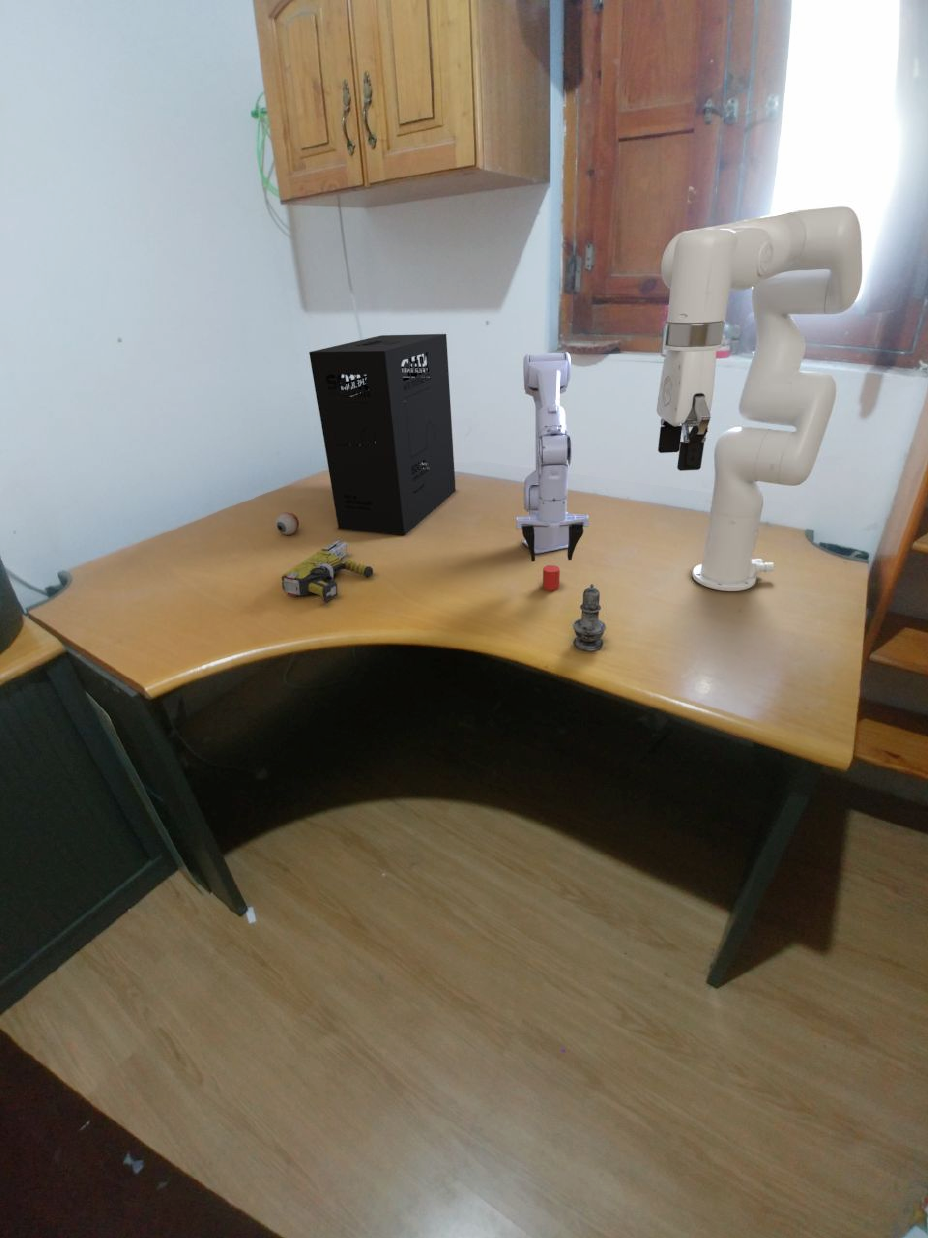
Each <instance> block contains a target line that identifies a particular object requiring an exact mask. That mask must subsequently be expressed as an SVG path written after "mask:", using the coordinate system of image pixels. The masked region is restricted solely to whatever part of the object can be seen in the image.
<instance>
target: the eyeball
mask: <svg viewBox="0 0 928 1238" xmlns="http://www.w3.org/2000/svg"><path fill="white" fill-rule="evenodd" d="M299 525H300V522H299V519H298V517H297V516H296V515H295V514H294V513H292V512H287V511H286V512H282V513H280V514H279V515H278V516H277V517H276V520H275V527H276V529H277V530H278V531H279V532H280V533H281V534H282V535H285V536H286V535H287V536H289V535H293V534H295V533H296V532H297V531H298V529H299Z"/></svg>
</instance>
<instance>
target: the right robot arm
mask: <svg viewBox="0 0 928 1238" xmlns="http://www.w3.org/2000/svg"><path fill="white" fill-rule="evenodd" d="M862 243H863V241H862V230H861V225H860V221H859V217H858V216H857V214H856V212H855V210H854V209H852V207H849V206H845V205H843V206H831V207H823V208H822V207H820V208H819V207H818V208H810V209H809V208H808V209H800V210H799V209H797V210H788V211H783V212H779V213H774V214H769V215H762V216H758V217H753V218H748V219H747V218H746V219H742V220H737V221H734V222H729V223H725V224H720V225H714V226H708V227H703V228H696V229H692V230H686V231H681V232H679V233H677V234H676V235H675V236H674V237H673V238H672V239H670V241H669V243H668V244H667V245H666V248H665V250H664V252H663V254H662V259H661V265H660V272H661V278H662V281H663V284H664V285H665V286H666V288H667V289H668V290H669V297H668V309H667V317H666V325H665V326H666V327H665V337H664V343H663V345H664V346H663V349H664V350H666V352H665V354H664V355H665V357H664V360H663V366H662V370H661V375H660V376H661V377H660V382H659V383H660V384H659V389H658V397H657V402H656V403H657V404H656V413H657V415H658V416H659V417H660V418H661V419H660V429H659V436H658V447H657V451H658V452H659V454H668V453H669V454H670V453H678V458H677V465H676V468H677V470H678V471H684V472H685V471H699V470H700V469H701V468H702V461H703V454H704V449H705V448H704V447H705V443H706V440H707V433H708V432H709V423H710V421H711V415H712V414H711V410H712V405H713V404H712V403H713V396H714V388H715V378H716V366H717V350H719V349H721V348H722V347H723V341H724V340H723V339H724V332H725V325H726V319H727V312H728V306H729V299H730V292H740V291H741V292H742V291H747V290H750V289H751V295H752V296H751V300H752V311H753V319H754V324H755V331H756V345H755V350H754V353H753V356H752V360H751V363H750V365H749V369H748V371H747V372H748V373H747V376H746V379H745V382H744V385H743V388H742V391H741V395H740V398H739V402H738V412H739V415H740V417H741V418H742V419H744V420H746V421H749V422H754V423H759V424H768V425H777V426H778V425H779V426H788V427H794V428H795V429H796V430H795V431H789V430H780V429H779V430H778V429H773V428H764V427H763V428H762V427H753V426H737V427H736V426H735V427H732V428H729V429H727V430H725V431H724V432H722V433H721V434H720V435H719V437H718V439H717V441H716V443H715V446H714V451H713V452H714V453H713V454H714V455H713V465H714V467H713V468H714V477H713V478H714V481H713V491H712V497H711V498H712V499H711V505H710V509H709V516H708V523H707V529H706V535H705V536H706V537H705V541H704V547H703V554H702V560H701V563H699V564H698V565H695V566H694V567H693V569H692V578H693V580H694V581H695V582H697V583H698V584H700V585H701V586H704V587H706V588H709V589H711V590H717V591H722V592H723V591H724V592H740V591H745V590H748V589H750V588H752V587H754V585H756V582H757V575H756V574H758V573H759V572H763V573H765V572H774V570H775V564H774V562H772V561H769V562H764V561H763V559H762V558H755V559H754V558H753V557H754V552H755V546H756V542H757V537H758V531H759V528H760V521H761V517H762V513H763V507H764V497H763V492H762V490H761V488H760V486H759V484H758V482H760V483H766V484H767V483H768V484H773V485H781V486H790V487H791V486H800V485H802V484H804V483H805V482H806V481H807V480H808V478H809V477H810V476H811V475H810V474H811V472H812V471H813V469H814V465H815V463H816V460H817V458H818V454H819V452H820V448H821V445H822V442H823V439H824V436H825V433H826V430H827V427H828V424H829V422H830V418H831V416H832V413H833V410H834V406H835V403H836V397H837V384H836V381H835V379H834V377H833V376H831V375H830V374H828V373H825V372H819V371H807V370H806V371H804V370H803V371H802V370H800V369H801V366H802V362H803V359H804V356H805V353H806V349H807V343H806V339H805V337H804V335H803V332H802V330H801V329H800V327H799V326H798V324H797V323H796V321H795V320H794V318H793V317H792V315H837V314H841V313H844V312H845V311H846V312H847V310H849V309H850V308H851V307H852V306H853V305H854V303H855V302H856V300H857V298H858V295H859V294H860V291H861V288H862V287H861V286H862V280H863V254H862V253H863V248H862V247H863V244H862ZM690 428H691V429H690ZM681 439H682V441H681Z"/></svg>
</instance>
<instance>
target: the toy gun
mask: <svg viewBox="0 0 928 1238" xmlns="http://www.w3.org/2000/svg"><path fill="white" fill-rule="evenodd" d="M345 548H348V543H347V542H346V541H343V540H342V541H341V540H339V539H338V540H335V541H334V542H333V543H331V544H330V545H327V546H326V547H325V548H321V549H320V550H318V551H317V552H316V553H314V554H312V555H311V556H310V557H307V559H305V560H304V561H302V562H300V563H299V564H298V565H296V566H294V567H293V568H291V569H290V570H288V571H287V572H285V573H284V574H282V576H281V585H282V586H281V587H282V590H283V591H284V592H285V593H287V596H292V597H295V596H302V597H303V596H307V595H310V594H315V595H318V596H320V597H322V601H323V602H325V603H327V602H328V601H330V600H332V599H333V598H335V597H337V596H338V594H339V593H338V582H337V581H336V580H334V578H335V577H334V575H336V574H337V573H340V572H342V571H343V570H346V571H349V572H353V573H355V574H358V575H361V576H364V577H366V578H370V577H372V576H373V575H374V569H373V567H372V566H370V565H365V564H361V563H359V562H357V561H352V560H349V559H347V560H345V561H344V562H342V560H343V558H344V557H347V556H348V554H349V553H348V549H346V552H344V549H345Z"/></svg>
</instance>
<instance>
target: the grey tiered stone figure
mask: <svg viewBox="0 0 928 1238" xmlns="http://www.w3.org/2000/svg"><path fill="white" fill-rule="evenodd" d="M600 597H601V592H600V590H599V589H597V588H595V586H594V584H593V583H591V584H590V585H589V587H587V588H585V589H584V590H583V592H582V603H581V604H580V605H579V608H580V610H581V614H580V615H581V616H580V618H578V619H576V620H574V621H573V623H572V629H573V630H574V633H575V635H576V637H575V638H574V639H573V645H574V646H575V647H576V648H578V649H580V650H582V651H591V652H592V651H597V650H599V649H601V648H602V647H603V646H604V640H603V639H602V637H603V636H604V633H605V631H606V630H607V625H606V623H605V622H604V621H602V620H601V619H600V618H599V617H600V611H601V609H602V607H601V605H600Z"/></svg>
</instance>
